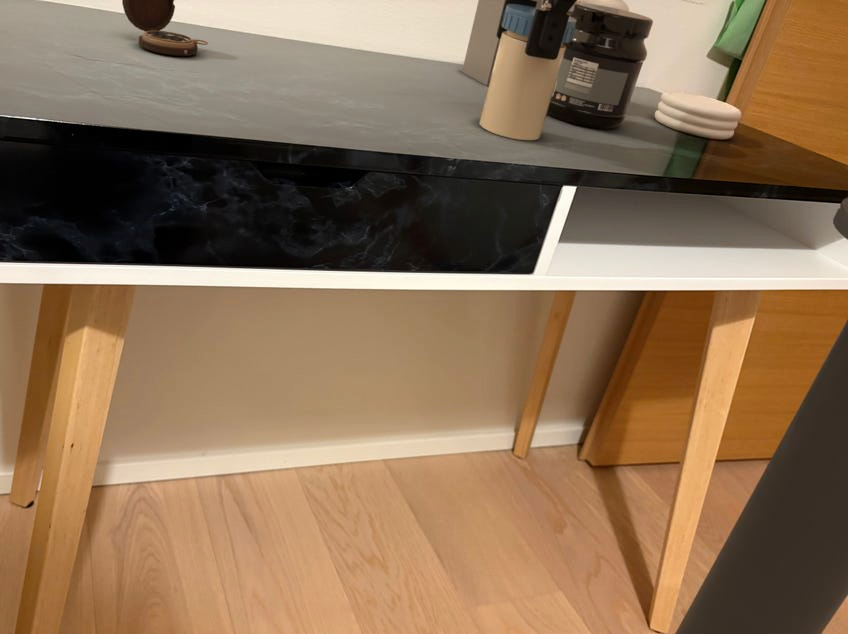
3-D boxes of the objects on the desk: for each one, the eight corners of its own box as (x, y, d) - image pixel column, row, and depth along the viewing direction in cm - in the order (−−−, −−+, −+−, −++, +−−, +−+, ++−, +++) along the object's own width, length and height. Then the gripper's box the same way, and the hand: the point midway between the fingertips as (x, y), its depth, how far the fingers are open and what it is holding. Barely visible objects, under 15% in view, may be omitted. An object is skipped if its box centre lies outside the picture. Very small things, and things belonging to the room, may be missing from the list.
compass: (160, 58, 82) (164, -19, 79) (118, 38, 87) (120, -35, 83) (223, 57, 88) (229, -14, 84) (180, 39, 92) (184, -30, 88)
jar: (552, 141, 82) (585, 33, 77) (502, 139, 79) (532, 27, 74) (516, 120, 87) (544, 17, 81) (467, 118, 84) (494, 11, 78)
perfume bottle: (504, 76, 110) (541, -69, 101) (530, 90, 105) (572, -63, 96) (461, 72, 108) (496, -79, 99) (486, 85, 102) (525, -72, 93)
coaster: (745, 139, 103) (757, 112, 101) (705, 142, 97) (717, 113, 95) (679, 116, 109) (689, 89, 107) (638, 116, 103) (647, 89, 101)
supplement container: (600, 112, 101) (633, 10, 95) (636, 136, 92) (675, 26, 86) (522, 99, 99) (551, -5, 93) (552, 123, 90) (586, 9, 84)
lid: (510, 34, 75) (515, 12, 74) (494, 20, 80) (499, 0, 79) (580, 47, 76) (586, 25, 75) (559, 32, 82) (565, 12, 81)
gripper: (672, -155, 64) (598, 75, 73) (577, -156, 78) (526, 37, 87) (588, -177, 62) (523, 63, 70) (507, -174, 76) (461, 26, 85)
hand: (525, 47), depth 79 cm, fingers closed on lid, 6 cm apart
